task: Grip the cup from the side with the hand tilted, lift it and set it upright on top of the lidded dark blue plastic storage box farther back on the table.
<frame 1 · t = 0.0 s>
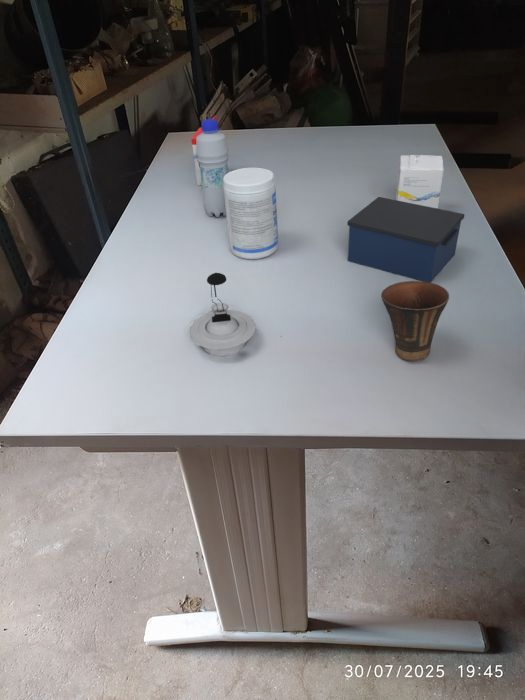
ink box: (210, 180, 137), on the table
bottle: (218, 214, 121), on the table
ink box 2: (414, 217, 114), on the table
supplement tub: (253, 250, 106), on the table
round stand with stem: (224, 343, 83), on the table
cup: (406, 349, 79), on the table
storage box: (401, 257, 100), on the table
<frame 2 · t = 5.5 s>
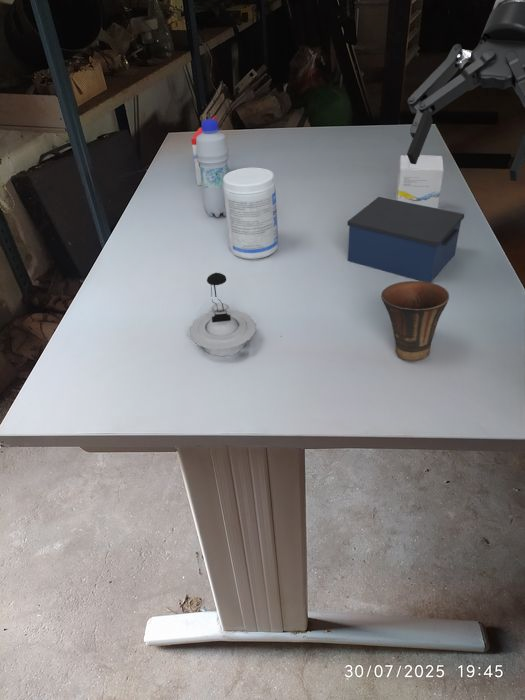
hand: (459, 167, 71), 23 cm above the table, tool tilted 45°, fingers open, 13 cm apart
nothing on the table moved.
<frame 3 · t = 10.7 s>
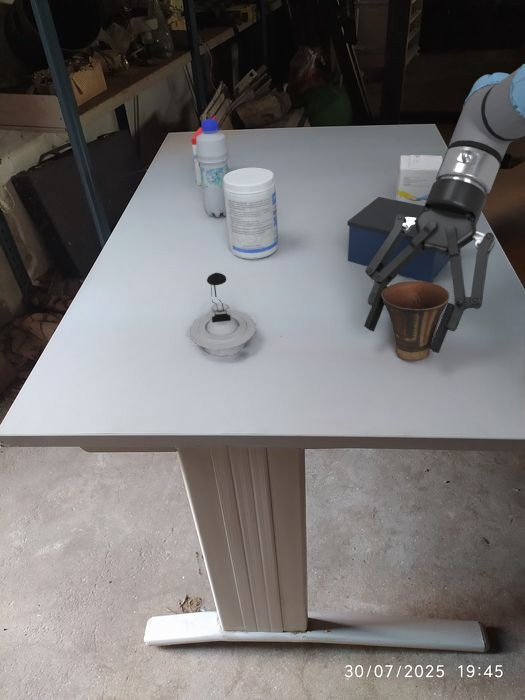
hand: (400, 339, 75), 4 cm above the table, tool tilted 45°, fingers closed on cup, 9 cm apart
cup: (406, 349, 79), on the table, touching gripper
everything else where it was.
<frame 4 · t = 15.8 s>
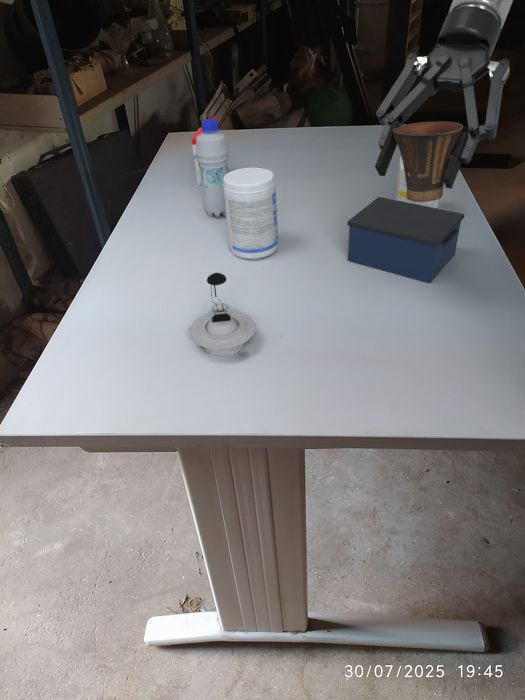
hand: (412, 177, 73), 22 cm above the table, tool tilted 45°, fingers closed on cup, 9 cm apart
cup: (418, 197, 77), point 18 cm above the table, touching gripper
everything else where it was.
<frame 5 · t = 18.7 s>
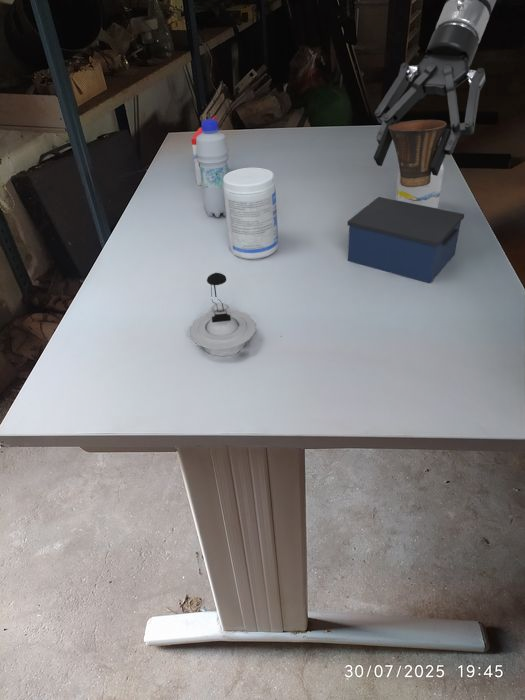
hand: (404, 166, 87), 18 cm above the table, tool tilted 45°, fingers closed on cup, 9 cm apart
cup: (410, 183, 92), point 14 cm above the table, touching gripper
everything else where it was.
when the fingers open (12 cm above the table, at t = 21.0 s): cup stays where it is, resting on storage box.
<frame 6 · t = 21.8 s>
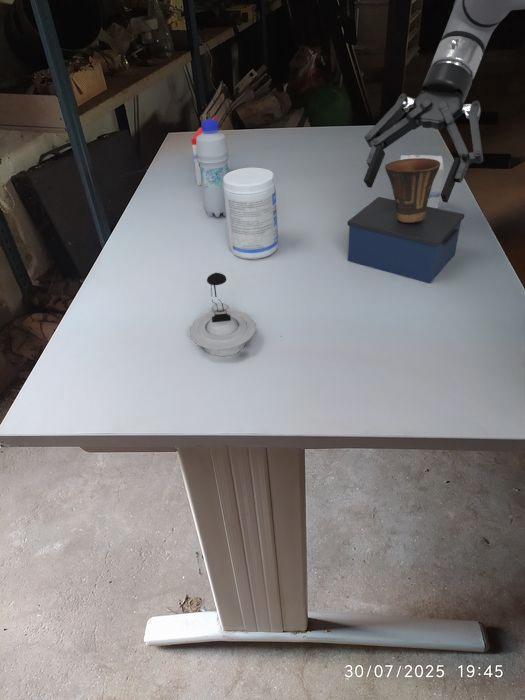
hand: (404, 191, 91), 14 cm above the table, tool tilted 45°, fingers open, 13 cm apart
cup: (406, 218, 96), point 8 cm above the table, touching storage box
everything else where it was.
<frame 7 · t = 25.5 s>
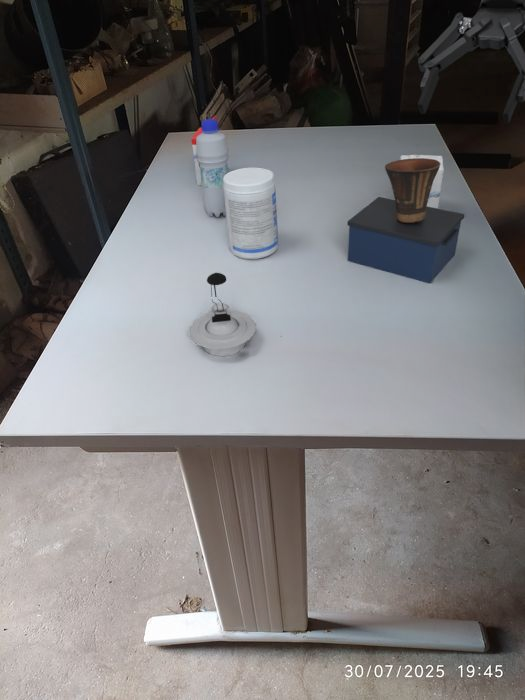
hand: (461, 114, 86), 25 cm above the table, tool tilted 45°, fingers open, 13 cm apart
nothing on the table moved.
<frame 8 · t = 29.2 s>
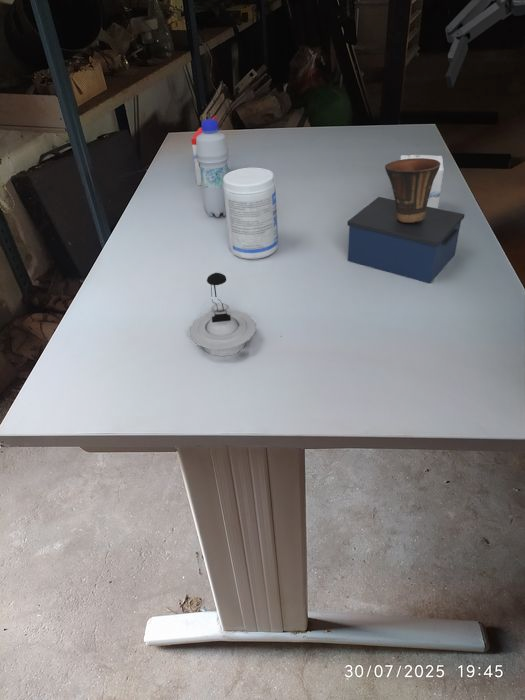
hand: (494, 86, 79), 30 cm above the table, tool tilted 45°, fingers open, 13 cm apart
nothing on the table moved.
at the end: cup inside the target area on the storage box (0.1 cm from its centre), point 7.8 cm above the storage box's base; cup tilted 0°; the gripper is holding nothing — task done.
